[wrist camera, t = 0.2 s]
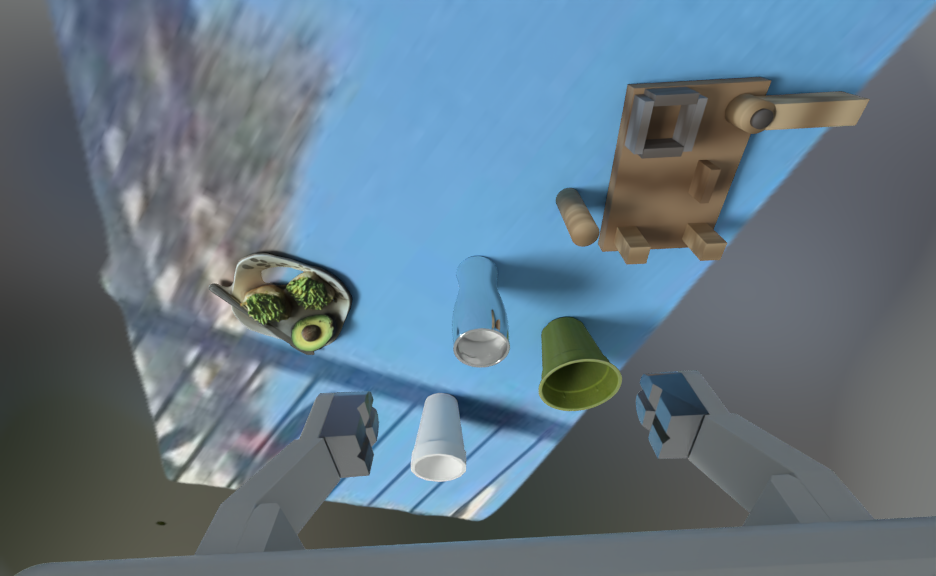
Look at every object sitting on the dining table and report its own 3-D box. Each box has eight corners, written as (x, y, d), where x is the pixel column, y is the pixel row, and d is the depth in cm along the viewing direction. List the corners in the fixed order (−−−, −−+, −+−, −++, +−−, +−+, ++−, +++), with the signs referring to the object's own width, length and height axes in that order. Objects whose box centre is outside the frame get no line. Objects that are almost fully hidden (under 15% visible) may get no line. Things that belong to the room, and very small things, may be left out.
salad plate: (209, 315, 62) (193, 336, 58) (222, 227, 52) (204, 245, 48) (330, 352, 67) (323, 374, 64) (363, 279, 58) (356, 299, 54)
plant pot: (551, 365, 70) (564, 420, 61) (514, 328, 64) (523, 383, 55) (611, 335, 65) (635, 391, 57) (578, 293, 60) (599, 347, 51)
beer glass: (478, 244, 54) (484, 317, 42) (510, 273, 57) (523, 349, 45) (443, 272, 57) (438, 348, 45) (475, 298, 60) (479, 376, 48)
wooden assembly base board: (627, 84, 42) (653, 99, 36) (759, 76, 41) (805, 91, 36) (598, 243, 54) (613, 273, 49) (699, 238, 54) (726, 267, 48)
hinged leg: (720, 124, 42) (742, 136, 39) (730, 94, 40) (754, 104, 37) (827, 118, 42) (858, 130, 39) (843, 88, 40) (876, 97, 37)
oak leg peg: (556, 188, 49) (573, 223, 42) (580, 187, 49) (601, 222, 42) (554, 210, 51) (570, 247, 44) (577, 209, 51) (597, 245, 44)
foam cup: (445, 381, 72) (443, 447, 62) (474, 405, 77) (477, 470, 67) (407, 400, 75) (399, 466, 65) (437, 422, 80) (434, 486, 70)
